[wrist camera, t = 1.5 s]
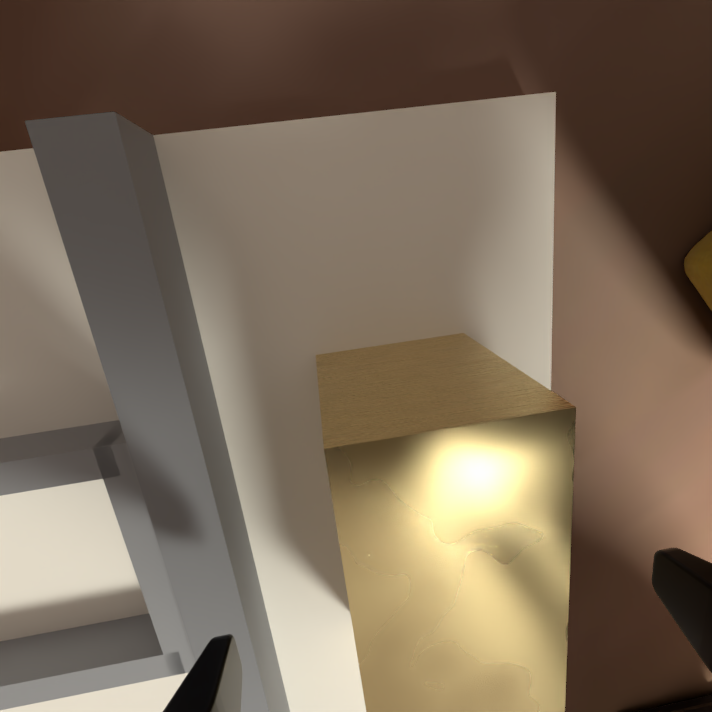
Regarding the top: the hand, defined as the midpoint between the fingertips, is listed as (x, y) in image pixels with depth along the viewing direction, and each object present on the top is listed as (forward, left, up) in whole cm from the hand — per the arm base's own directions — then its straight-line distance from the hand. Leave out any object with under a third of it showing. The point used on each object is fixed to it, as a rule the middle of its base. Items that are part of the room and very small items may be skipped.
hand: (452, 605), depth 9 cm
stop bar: (0, 0, -4) cm, 4 cm away
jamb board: (0, +7, -5) cm, 9 cm away
